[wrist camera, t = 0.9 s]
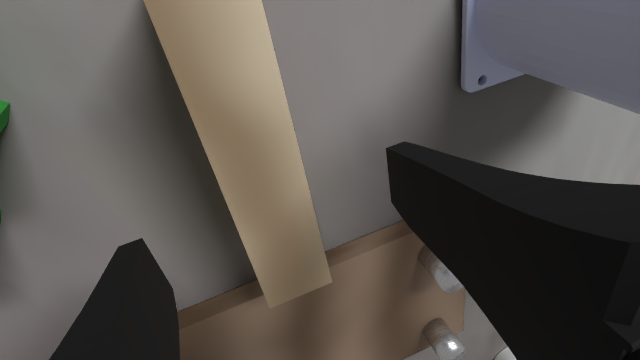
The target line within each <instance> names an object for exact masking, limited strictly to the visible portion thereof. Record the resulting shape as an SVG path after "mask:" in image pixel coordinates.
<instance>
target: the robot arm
mask: <svg viewBox="0 0 640 360" xmlns="http://www.w3.org/2000/svg"><path fill="white" fill-rule="evenodd" d="M524 74H528V75H531V76H534V77H537V78H539V79H542V80H545V81H548V82H551V83H554V84H556V85H559V86H562V87H565V88H568V89H570V90H573V91H576V92H579V93H582V94H584V95H587V96H590V97H593V98H596V99H598V100H601V101H604V102H607V103H610V104H613V105H615V106H618V107H621V108H624V109H627V110H629V111H632V112H635V113H638V114H640V0H463V8H462V54H461V88H462V89H463V90H464V91H466V92H469V93H472V92H476V91H478V90H481V89H484V88H487V87H490V86H493V85H495V84H498V83H501V82H504V81H507V80H510V79H512V78H515V77H518V76H521V75H524ZM481 76H482V77H481ZM480 77H481V80H480V81H479V82H478V80H479V78H480ZM386 154H387V163H388V173H389V183H390V193H391V202H392V203H393V205H394V206H395V208H396V209H397V211H398V212H399V214H400V215H401V217H402V218H403V219H404V221H405V222H406V224H407V225H408V226H409V228H410V229H411V230H412V231H413V232H414V233H415V234H416V235H417V236H418V237H419V239H420V240H421V241H422V242H423V243H424V244H425V245H426V246H427V247H428V248H429V249H430V250H431V251H432V252H433V254H434V255H435V256H436V257H437V258H438V259H439V260H440V261H441V262H442V263H443V264H444V265H445V266H446V267H447V268H448V270H449V271H450V272H451V273H452V274H453V275H454V276H455V277H456V278H457V279H458V281H459V282H460V283H461V284H462V285H463V286H464V288H465V289H466V290H467V291H468V293H469V294H470V295H471V297H472V298H473V299H474V301H475V302H476V303H477V305H478V306H479V307H480V309H481V310H482V311H483V312H484V314H485V315H486V317H487V318H488V319H489V321H490V322H491V324H492V325H493V326H494V328H495V329H496V330H497V332H498V333H499V335H500V336H501V337H502V339H503V340H504V342H505V343H506V344H507V346H508V347H509V349H510V350H511V352H512V353H513V355H514V356H515V358H516V359H517V360H640V185H628V184H607V183H592V182H582V181H572V180H563V179H555V178H548V177H542V176H536V175H530V174H524V173H519V172H514V171H509V170H504V169H500V168H496V167H492V166H488V165H484V164H480V163H476V162H473V161H469V160H466V159H462V158H459V157H455V156H452V155H449V154H445V153H442V152H439V151H436V150H433V149H429V148H426V147H423V146H419V145H416V144H412V143H408V142H402V143H399V144H396V145H393V146H391V147H388V148H386ZM49 360H180V342H179V321H178V315H177V309H176V303H175V298H174V292H173V288H172V287H171V285H170V283H169V282H168V280H167V278H166V277H165V275H164V273H163V272H162V270H161V268H160V267H159V265H158V264H157V262H156V260H155V259H154V257H153V255H152V254H151V252H150V250H149V249H148V247H147V245H146V244H145V242H144V240H143V239H142V238H141V239H138V240H135V241H133V242H130V243H127V244H124V245H122V246H119V247H118V248H117V250H116V252H115V253H114V255H113V257H112V259H111V260H110V262H109V264H108V266H107V267H106V269H105V271H104V273H103V275H102V276H101V278H100V280H99V282H98V283H97V285H96V287H95V289H94V290H93V292H92V294H91V295H90V297H89V299H88V301H87V302H86V304H85V306H84V307H83V309H82V311H81V312H80V314H79V315H78V317H77V318H76V320H75V322H74V323H73V325H72V326H71V328H70V329H69V331H68V332H67V334H66V335H65V337H64V338H63V340H62V342H61V343H60V345H59V346H58V348H57V349H56V351H55V352H54V353H53V355H52V356H51V358H50V359H49Z"/></svg>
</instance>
